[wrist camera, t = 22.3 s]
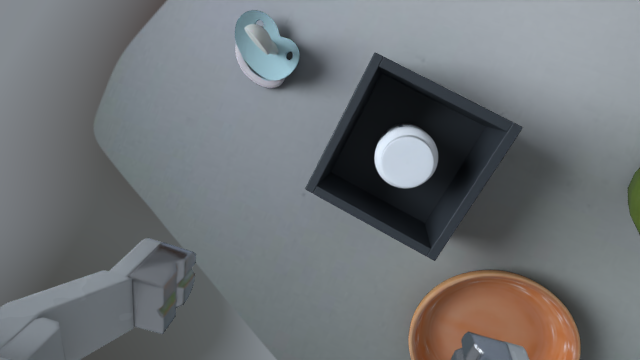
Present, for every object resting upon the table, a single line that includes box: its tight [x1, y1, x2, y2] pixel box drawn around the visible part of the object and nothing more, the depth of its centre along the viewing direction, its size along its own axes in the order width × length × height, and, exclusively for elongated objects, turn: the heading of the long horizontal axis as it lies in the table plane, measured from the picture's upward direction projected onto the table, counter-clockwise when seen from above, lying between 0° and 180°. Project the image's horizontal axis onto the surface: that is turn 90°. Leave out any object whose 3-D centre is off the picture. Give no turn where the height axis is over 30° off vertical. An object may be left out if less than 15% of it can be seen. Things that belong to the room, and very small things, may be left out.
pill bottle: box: [374, 124, 438, 189], centre depth 32 cm, size 5×5×9 cm
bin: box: [305, 53, 523, 261], centre depth 34 cm, size 13×13×8 cm
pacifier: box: [235, 10, 300, 88], centre depth 35 cm, size 7×6×6 cm
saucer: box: [409, 270, 581, 360], centre depth 38 cm, size 16×16×3 cm
